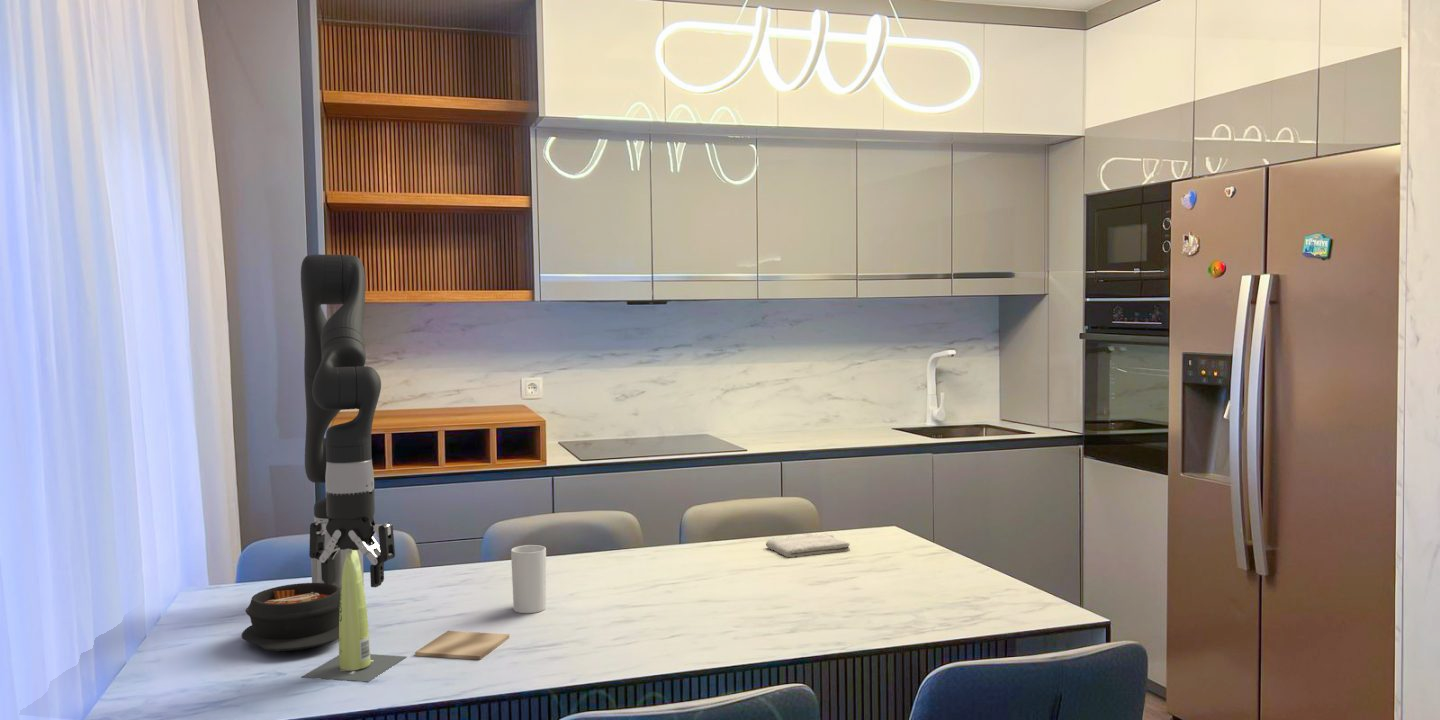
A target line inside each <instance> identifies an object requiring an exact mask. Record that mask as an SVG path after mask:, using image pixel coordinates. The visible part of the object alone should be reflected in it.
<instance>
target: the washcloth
mask: <svg viewBox="0 0 1440 720" xmlns="http://www.w3.org/2000/svg"><path fill="white" fill-rule="evenodd" d="M765 546H766V548H767V549H768V550H770V549H771V551H773V550H774V551H773V552H776V551H777V552H776V553H778V552H779V553H780V554H779V553H778V554H779V555H781V554H782V555H781V556H783V555H784V557H785V556H786V558H788V557H791V558H796V557H795V556H800V557H805V556H804V555H808V556H813V555H812V554H817V555H824V554H823V553H826V554H832V553H831V552H835V553H842V551H844V552H850V551H851V549H850V542H848V541H846V540H842V539H839V538H837V537H835V536H834V535H831V534H828V533H823V534H812V533H804V534H802V535H789V536H788V535H787V536H783V537H778V538H777V537H776V538H775V537H774V538H770V539H768V540H767V541H766V542H765Z"/></svg>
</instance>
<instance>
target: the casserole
mask: <svg viewBox="0 0 1440 720" xmlns="http://www.w3.org/2000/svg"><path fill="white" fill-rule="evenodd" d="M340 593H341V589H340V588H339V587H338V586H336V585H332V584H330V585H325V584H324V583H312V582H300V583H293V584H285V585H281V586H276V587H272V588H268V589H265V590H262V591H259V592H257V593H256V594H254V595H253V596H252V597H251V599H250V603H249V605H248V606H247V607H246V608H245V614H247V616H248V617H249V619H250V622H251V623H250V624H251V625H250V626H248V627H247V628H245V629H244V630H243V632H241V635H240V637H241V639H243V640H244V641H245V642H248V643H251V644H253V645H257V646H259V647H260V648H262V649H265V650H266V651H271V652H277V651H278V652H281V651H282V652H283V651H285V652H286V651H294V650H296V651H297V650H303V649H308V648H309V649H310V648H315V647H319V646H324V645H327V644H330V643H333V642H335V641H336V640H339V612H340Z"/></svg>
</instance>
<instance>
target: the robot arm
mask: <svg viewBox="0 0 1440 720" xmlns="http://www.w3.org/2000/svg"><path fill="white" fill-rule="evenodd" d="M363 264H364V263H363V262H362V260H361V259H360V257H358V256H357V255H351V254H308V255H306V256H305V257H304V258H303V260H302V262H301V267H300V288H301V289H300V290H301V300H302V311H303V312H302V313H303V323H304V363H303V364H304V367H303V368H304V369H303V371H304V372H303V373H304V394H305V395H304V396H305V410H306V413H305V414H306V416H305V417H306V421H305V422H306V423H305V424H306V425H305V442H304V444H305V445H304V468H305V469H304V470H305V475H306V477H307V480H308V481H310V482H312V483H315V484H317V483H318V484H324V483H325V497H323V498H321V499H319V500H317V501H315V503H314V505H313V515H314V519H313V520H314V521H313V522H311V523H310V524H309V553H308V554H309V555H308V556H309V557H310V558H311V559H310V561H311V562H310V563H311V564H310V565H311V583H324V584H325V585H330V584H332V585H336V586H338V587H339V588H340V589H341V582H342V573H343V566H344V562H345V559H346V554H347V553H349V552H350V551H351V550H357V553H358V556H359V560H360V565H361V571H362V578H363V584H364V580H365V579H364V556H366V557H367V559H368V560H369V563H370V564H371V565H369V571H370V576H369V577H370V587H371V588H377V587H380V586H381V585H382V583H383V582H384V580H385V567H384V566H385V562H387V561H389V560H392V559H394V558H395V557H396V550H395V548H396V547H395V538H394V527H393V526H394V525H393V523H392V522H386V523H383V524H382V523H380V524H377V523H376V522H375V519H374V518H375V512H376V508H375V507H376V506H375V504H376V502H375V475H374V474H375V473H374V466H373V457H372V455H373V454H372V428H373V422H374V418H375V412H376V409H377V405H378V403H379V402H378V401H379V399H380V395H381V389H382V380H381V377H380V375H379V373H378V372H377V370H376V369H374V368H373V367H371V366H365V364H366V361H367V360H366V359H367V355H366V347H365V338H364V319H365V307H366V306H365V305H366V273H365V268H364V265H363ZM322 305H341V306H340V307H339V308H338V309H337V310H336V311H335V312H334V313H333V314H332V315H331V316H330V318H328V319H327V318H326V316H325V314H324V311H323V309H322ZM342 410H343V411H345V410H347V411H348V410H358V412H357V415H356V416H355V417H354V418H353V419H352V420H349V421H347V422H343V423H339V424H334V425H332V426H330V425H331V423H332V421H334V419H335V417H336V416H337V415H338V414H339V413H340V411H342ZM329 426H330V427H329ZM375 533H376V537H378V539H379V540H378V541H379V542H377V540H376V539H375V537H374V535H375ZM364 585H365V584H364Z"/></svg>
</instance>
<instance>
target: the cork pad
mask: <svg viewBox="0 0 1440 720" xmlns="http://www.w3.org/2000/svg"><path fill="white" fill-rule="evenodd" d="M509 637H511V636H510V634H509V633H494V632H492V633H491V632H477V631H476V632H474V631H463V630H462V631H459V630H447V631H445V632H443V634H442V633H441V635H439V636H438V637H436V638H435V639H432V641H430V642H428V643H427V644H426V645H424V646H422V647H421V648H419V649H418V650H416V651H414V656H416V657H417V656H419V657H435V658H447V659H448V658H449V659H464V660H465V659H466V660H477V661H478V660H479V661H480V660H481V659H482V660H483V658H484V657H486V656H487V655H489V654H490V653H491V652H493V651H494V650H495V649H497V647H499V646H500V645H502V644H503V643H504V642H505V640H506V641H507V640H508V639H510V638H509ZM493 649H494V650H493Z"/></svg>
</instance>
